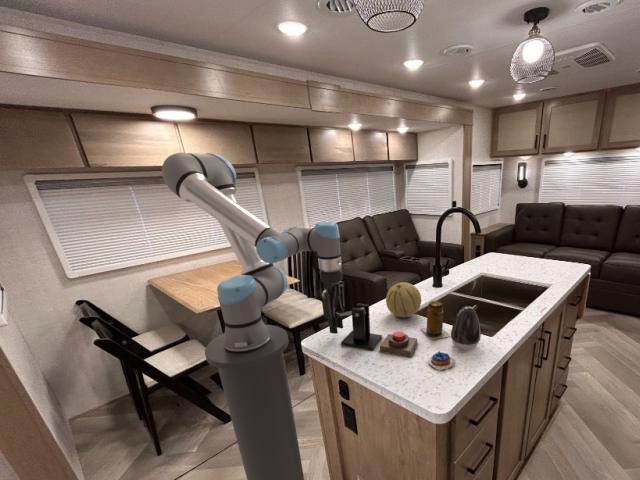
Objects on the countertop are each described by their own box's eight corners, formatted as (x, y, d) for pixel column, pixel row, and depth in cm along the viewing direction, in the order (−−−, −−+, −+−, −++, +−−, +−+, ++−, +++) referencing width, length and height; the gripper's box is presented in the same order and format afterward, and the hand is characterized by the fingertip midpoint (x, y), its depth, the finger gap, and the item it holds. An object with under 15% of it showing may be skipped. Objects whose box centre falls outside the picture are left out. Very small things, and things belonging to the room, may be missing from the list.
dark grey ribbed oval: (485, 346, 113) (490, 306, 107) (468, 357, 107) (472, 316, 101) (461, 335, 120) (464, 298, 114) (444, 345, 113) (446, 306, 107)
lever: (329, 322, 115) (325, 313, 114) (333, 318, 118) (330, 309, 117) (363, 317, 110) (360, 308, 109) (367, 313, 113) (364, 304, 112)
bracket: (341, 345, 114) (338, 309, 109) (352, 333, 122) (350, 300, 116) (372, 350, 111) (371, 314, 105) (381, 338, 118) (381, 304, 113)
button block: (379, 351, 110) (379, 341, 108) (388, 339, 118) (388, 329, 116) (410, 356, 107) (410, 346, 105) (417, 343, 115) (417, 333, 113)
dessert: (435, 370, 98) (432, 351, 100) (427, 371, 104) (424, 353, 106) (458, 367, 101) (455, 348, 102) (449, 368, 107) (446, 350, 108)
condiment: (438, 326, 127) (440, 299, 122) (448, 336, 119) (450, 307, 115) (421, 329, 124) (422, 301, 120) (431, 340, 117) (432, 310, 112)
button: (391, 340, 110) (391, 335, 109) (395, 334, 113) (395, 330, 113) (402, 342, 109) (402, 337, 108) (406, 336, 112) (406, 332, 111)
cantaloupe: (425, 311, 140) (426, 279, 134) (414, 325, 127) (415, 290, 122) (394, 306, 145) (393, 275, 139) (380, 319, 132) (379, 285, 127)
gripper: (328, 277, 100) (334, 342, 109) (351, 263, 115) (355, 321, 124) (307, 275, 102) (315, 339, 111) (332, 261, 117) (338, 319, 126)
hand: (336, 329), depth 118 cm, fingers closed on lever, 4 cm apart
